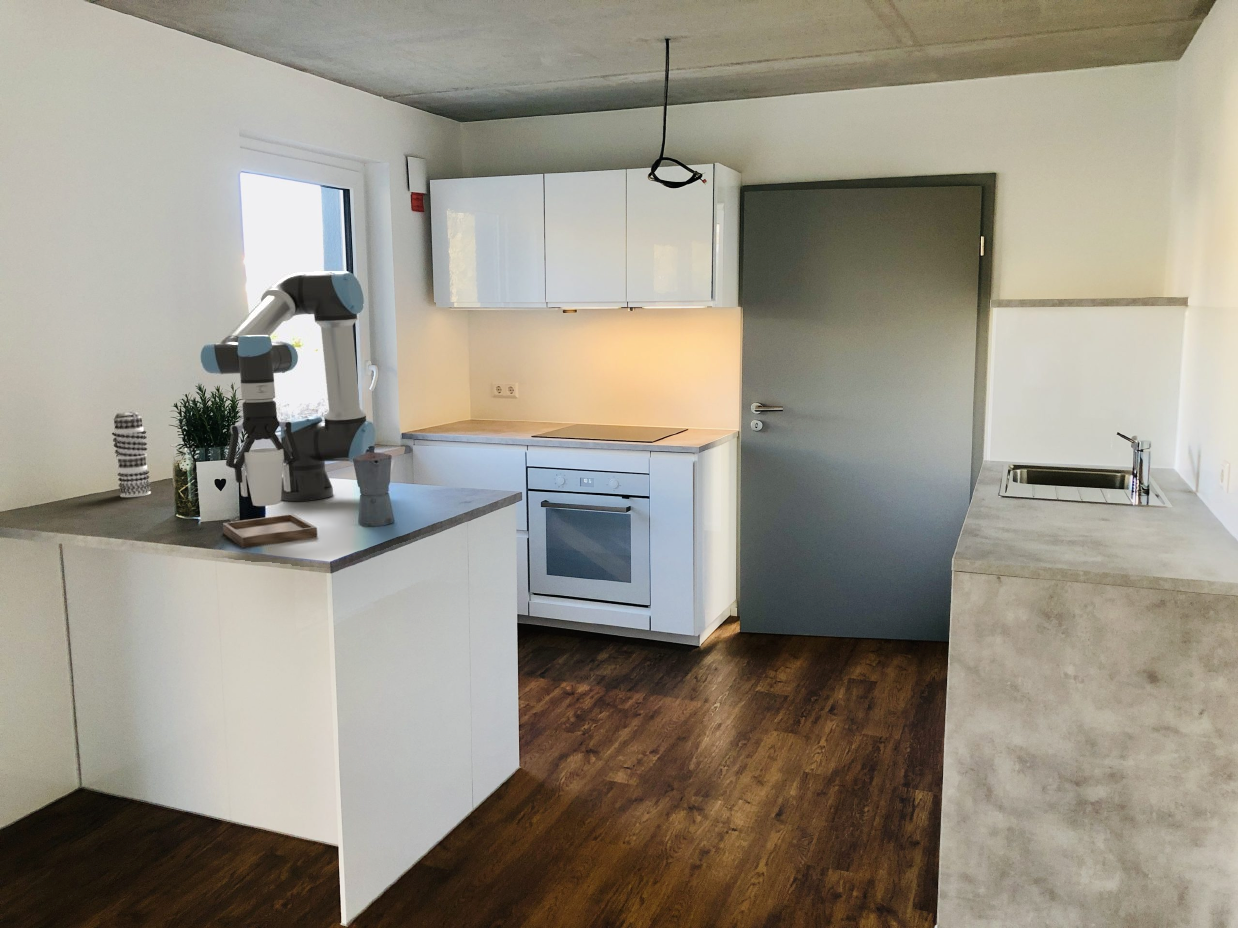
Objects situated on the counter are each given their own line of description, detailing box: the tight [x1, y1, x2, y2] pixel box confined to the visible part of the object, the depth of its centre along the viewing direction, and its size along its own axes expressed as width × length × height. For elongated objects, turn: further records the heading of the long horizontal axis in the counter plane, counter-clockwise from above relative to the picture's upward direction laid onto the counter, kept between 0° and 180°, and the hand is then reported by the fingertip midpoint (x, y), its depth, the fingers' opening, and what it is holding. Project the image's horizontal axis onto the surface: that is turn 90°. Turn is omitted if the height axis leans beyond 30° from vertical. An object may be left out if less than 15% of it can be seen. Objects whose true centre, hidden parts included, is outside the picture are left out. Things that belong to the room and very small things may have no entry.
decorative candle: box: [111, 411, 152, 498], centre depth 289 cm, size 9×9×25 cm
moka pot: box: [352, 445, 395, 527], centre depth 243 cm, size 10×15×20 cm, turn 28°
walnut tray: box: [222, 513, 318, 549], centre depth 233 cm, size 17×20×2 cm
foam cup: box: [243, 447, 284, 507], centre depth 230 cm, size 10×9×13 cm
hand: (266, 493), depth 231 cm, fingers closed on foam cup, 9 cm apart
